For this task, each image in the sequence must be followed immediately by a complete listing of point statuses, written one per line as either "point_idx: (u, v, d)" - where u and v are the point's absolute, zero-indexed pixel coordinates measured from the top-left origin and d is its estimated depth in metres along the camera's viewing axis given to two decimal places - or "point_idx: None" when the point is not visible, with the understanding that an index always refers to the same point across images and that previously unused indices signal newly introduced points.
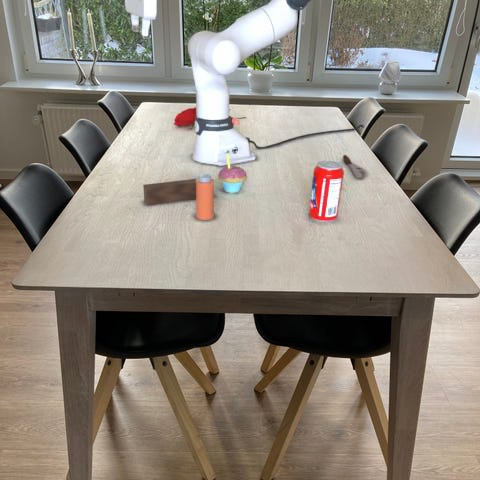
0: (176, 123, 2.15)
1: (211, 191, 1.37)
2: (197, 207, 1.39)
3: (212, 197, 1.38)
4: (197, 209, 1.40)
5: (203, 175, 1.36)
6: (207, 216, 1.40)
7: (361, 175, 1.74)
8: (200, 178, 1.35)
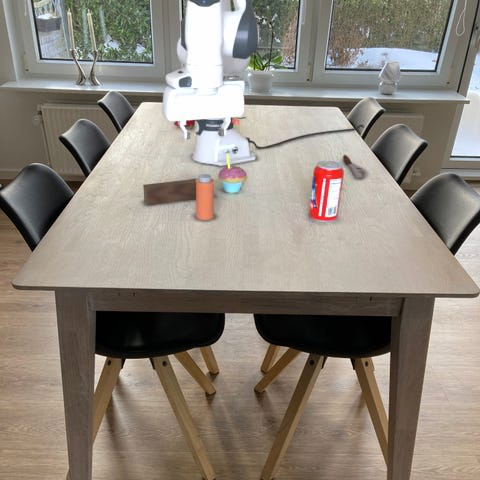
0: (176, 123, 2.15)
1: (211, 191, 1.37)
2: (197, 207, 1.39)
3: (212, 197, 1.38)
4: (197, 209, 1.40)
5: (203, 175, 1.36)
6: (207, 216, 1.40)
7: (361, 175, 1.74)
8: (200, 178, 1.35)
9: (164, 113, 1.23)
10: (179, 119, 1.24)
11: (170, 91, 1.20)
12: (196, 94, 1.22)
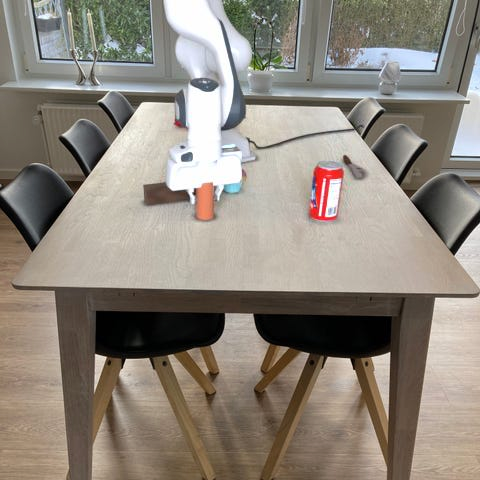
0: (176, 123, 2.15)
1: (211, 191, 1.37)
2: (197, 207, 1.39)
3: (212, 197, 1.38)
4: (197, 209, 1.40)
5: None
6: (208, 216, 1.40)
7: (361, 175, 1.74)
8: None
9: (167, 183, 1.33)
10: (181, 188, 1.33)
11: (172, 165, 1.29)
12: (197, 166, 1.32)
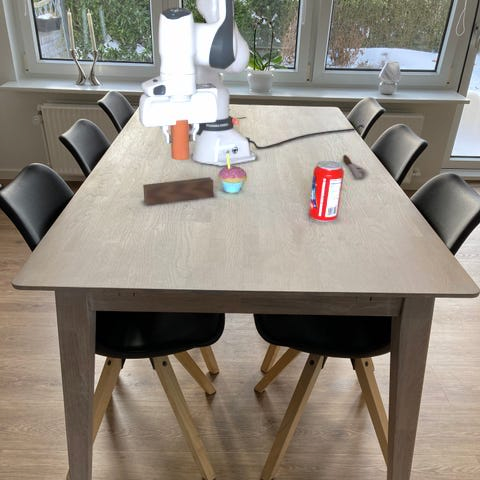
0: None
1: (186, 130, 1.34)
2: (172, 147, 1.36)
3: (187, 136, 1.35)
4: (172, 149, 1.37)
5: None
6: (183, 156, 1.37)
7: (361, 175, 1.74)
8: None
9: (140, 119, 1.30)
10: (155, 125, 1.30)
11: (145, 99, 1.26)
12: (170, 101, 1.29)
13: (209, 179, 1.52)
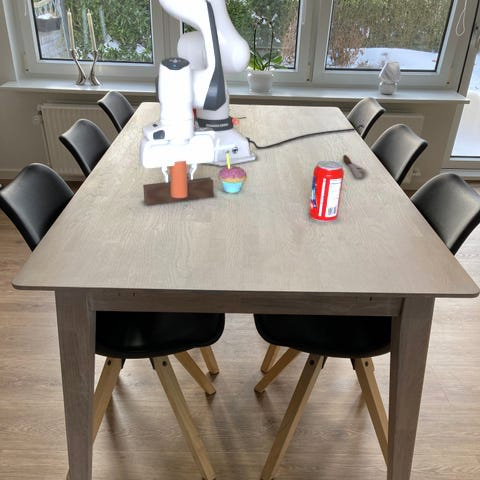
0: None
1: (184, 170, 1.40)
2: (171, 185, 1.43)
3: (185, 176, 1.41)
4: (171, 187, 1.43)
5: None
6: (181, 194, 1.43)
7: (361, 175, 1.74)
8: None
9: (141, 161, 1.36)
10: (154, 166, 1.37)
11: (145, 143, 1.32)
12: (169, 144, 1.35)
13: (209, 179, 1.52)
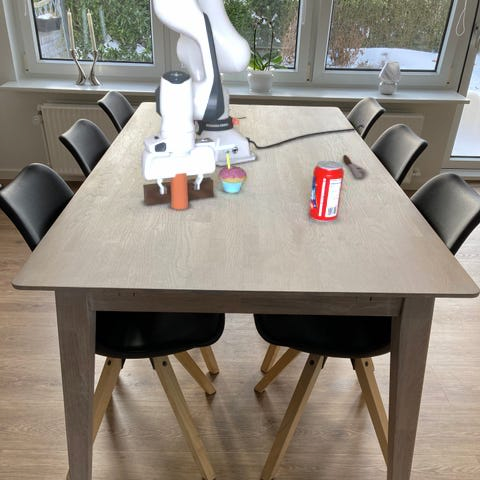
0: None
1: (185, 182, 1.42)
2: (172, 197, 1.44)
3: (186, 187, 1.43)
4: (172, 199, 1.45)
5: None
6: (182, 205, 1.45)
7: (361, 175, 1.74)
8: None
9: (142, 172, 1.38)
10: (156, 178, 1.38)
11: (147, 155, 1.34)
12: (171, 156, 1.37)
13: (209, 179, 1.52)
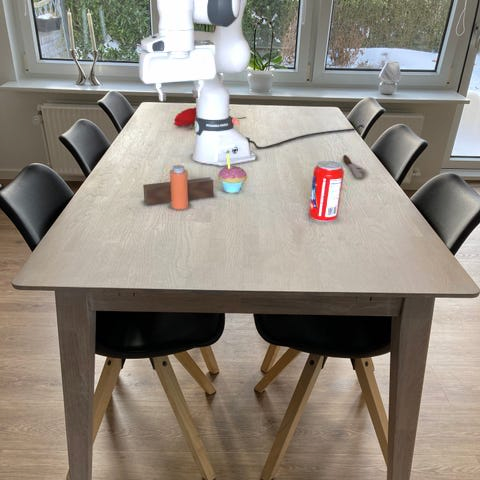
0: (176, 123, 2.15)
1: (185, 182, 1.42)
2: (172, 197, 1.44)
3: (186, 187, 1.43)
4: (172, 199, 1.45)
5: (177, 166, 1.41)
6: (182, 205, 1.45)
7: (361, 175, 1.74)
8: (174, 169, 1.40)
9: (140, 76, 1.33)
10: (154, 82, 1.34)
11: (144, 55, 1.29)
12: (169, 58, 1.32)
13: (209, 179, 1.52)
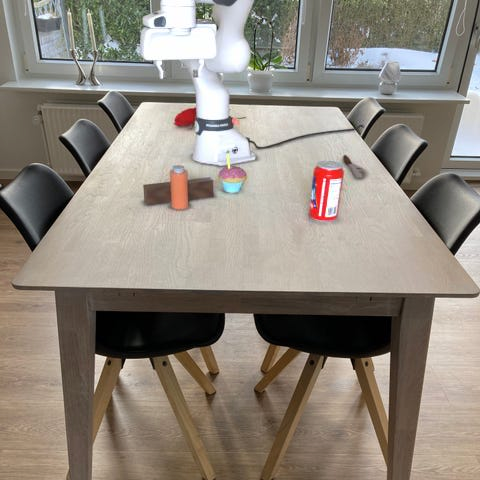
0: (176, 123, 2.15)
1: (185, 182, 1.42)
2: (172, 197, 1.44)
3: (186, 187, 1.43)
4: (172, 199, 1.45)
5: (177, 166, 1.41)
6: (182, 205, 1.45)
7: (361, 175, 1.74)
8: (174, 169, 1.40)
9: (141, 53, 1.34)
10: (155, 58, 1.34)
11: (146, 31, 1.30)
12: (171, 34, 1.32)
13: (209, 179, 1.52)
